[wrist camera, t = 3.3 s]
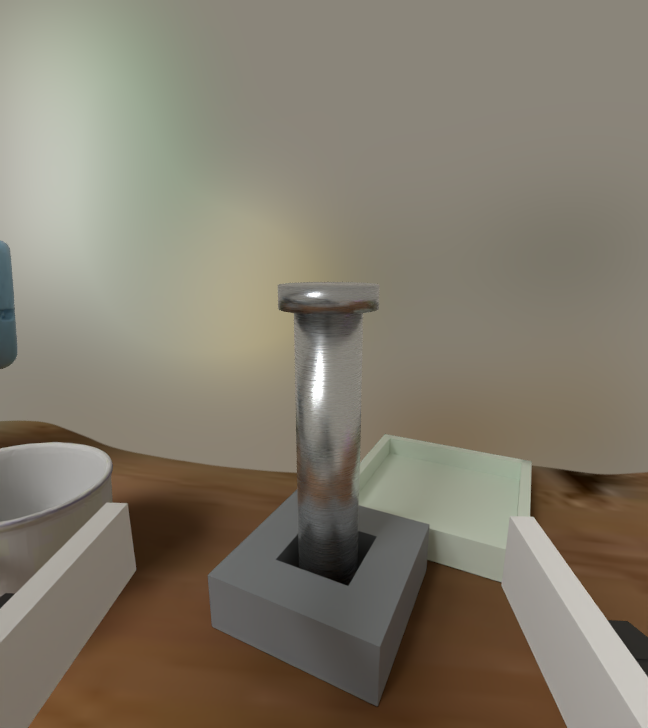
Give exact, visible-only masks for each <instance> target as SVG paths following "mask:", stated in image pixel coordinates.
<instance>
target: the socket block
mask: <svg viewBox="0 0 648 728" xmlns="http://www.w3.org/2000/svg"><path fill="white" fill-rule="evenodd" d="M429 526H430V524H426V523H423V522H419V521H415V520H411V519H408V518H404V517H400V516H397V515H393V514H389V513H386V512H382V511H378V510H375V509H371V508H367V507H363V506H360V505H359V528H358V570H357V572H356V574H355V575H354V577H353V579H352V581H351V582H350V584H349V586H347V585H344V584H341V583H338V582H336V581H333V580H330V579H327V578H325V577H322V576H319V575H317V574H314V573H311V572H308V571H306V570H303V569H300V568H299V545H298V493H297V490H296V491H295V492H294V493H293V494H292V495H291V496H290V497H289V498H288V499H287V500H286V501H284V502H283V503H282V504H281V505H280V506H279V507H278V508H277V509H276V510H275V511H274V512H273V513H272V514H271V515H270V516H269V517H268V518H267V519H266V520H265V521H264V522H263V523H262V524H260V525H259V526H258V527H257V528H256V529H255V530H254V531H253V532H252V533H251V534H250V535H249V536H248V537H247V538H246V539H245V540H244V541H243V542H242V543H241V544H240V545H239V546H238V547H236V548H235V549H234V550H233V551H232V552H231V553H230V554H229V555H228V556H227V557H226V558H225V559H224V560H223V561H222V562H221V563H220V564H219V565H218V566H217V567H216V568H215V569H214V570H212V571H211V572H210V573H209V574H208V584H209V596H210V608H211V620H212V627H214V628H216V629H218V630H220V631H222V632H224V633H226V634H228V635H230V636H232V637H234V638H237V639H239V640H241V641H243V642H245V643H247V644H249V645H251V646H253V647H255V648H257V649H259V650H261V651H263V652H265V653H268V654H270V655H272V656H274V657H276V658H278V659H280V660H282V661H284V662H286V663H288V664H290V665H292V666H294V667H296V668H298V669H301V670H303V671H305V672H307V673H309V674H311V675H313V676H315V677H317V678H319V679H321V680H323V681H325V682H327V683H329V684H332V685H334V686H336V687H338V688H340V689H342V690H344V691H346V692H348V693H350V694H352V695H354V696H356V697H358V698H360V699H362V700H365V701H367V702H369V703H371V704H373V705H375V706H377V707H378V704H379V701H380V699H381V696H382V693H383V690H384V687H385V685H386V682H387V679H388V676H389V673H390V671H391V668H392V665H393V662H394V659H395V657H396V654H397V651H398V648H399V645H400V643H401V640H402V637H403V634H404V631H405V629H406V626H407V623H408V620H409V617H410V615H411V612H412V609H413V606H414V603H415V601H416V598H417V595H418V592H419V589H420V587H421V584H422V581H423V578H424V575H425V573H426V570H427V556H428V541H429Z"/></svg>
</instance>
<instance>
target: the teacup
mask: <svg viewBox="0 0 648 728" xmlns="http://www.w3.org/2000/svg"><path fill="white" fill-rule="evenodd" d="M112 468H113V465H112V461H111V459H110V457H109V456H108V455H107V453H105V452H104V451H102V450H100V449H98V448H95V447H92V446H88V445H82V444H74V443H62V442H50V443H33V444H24V445H17V446H11V447H5V448H1V449H0V597H1V596H2V595H4V594H5V593H16V592H17V591H18V590H20V589H21V588H22V587H23V586H24V585H25V584H26V583H27V582H28V581H29V580H30V579H31V578H32V577H33V576H34V575H35V574H36V573H37V572H38V571H39V570H40V569H41V568H42V567H43V566H44V565H45V564H46V563H47V562H48V561H49V560H50V559H51V558H52V557H53V556H54V555H55V554H56V553H57V552H58V551H59V550H60V549H61V548H62V547H63V546H64V545H65V544H66V543H67V542H68V541H69V540H70V539H71V538H72V537H73V536H74V535H75V534H76V533H77V532H78V531H79V530H80V529H81V528H82V527H83V526H84V525H85V524H86V523H87V522H88V521H89V520H90V519H91V518H92V517H93V516H94V515H95V514H96V513H97V512H98V511H99V510H100V509H101V508H102V507H103V506H104V505H105V504H106V503H112V485H111V473H112Z"/></svg>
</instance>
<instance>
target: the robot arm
mask: <svg viewBox="0 0 648 728" xmlns="http://www.w3.org/2000/svg"><path fill="white" fill-rule="evenodd" d="M14 310H15V308H14V292H13V279H12V266H11V256H10V248H9V247H8V245H7V244H6V243H4V242H3V241H0V369H3V368H6V367H8V366H9V365H11V364H12V363H13V362H14V360H15V359H16V356H17V336H16V322H15V311H14ZM135 571H136V563H135V556H134V548H133V540H132V533H131V525H130V517H129V510H128V503H106V504H105V505H104V506H103V507H102V508H101V509H100V510H99V511H98V512H97V513H96V514H95V515H94V516H93V517H92V518H91V519H90V520H89V521H88V522H87V523H86V524H85V525H84V526H83V527H82V528H81V529H80V530H79V531H78V532H77V533H76V534H75V535H74V536H73V537H72V538H71V539H70V540H69V541H68V542H67V543H66V544H65V545H64V546H63V547H62V548H61V549H60V550H59V551H58V552H57V553H56V554H55V555H54V556H53V557H52V558H51V559H50V560H49V561H48V562H47V563H46V564H45V565H44V566H43V567H42V568H41V569H40V570H39V571H38V572H37V573H36V574H35V575H34V576H33V577H32V578H31V579H30V580H29V581H28V582H27V583H26V584H25V585H24V586H23V587H22V588H21V589H20V590H18V591H17V592H16V593H5V594H4V595H2V596H1V597H0V728H28V727H29V725H30V724H31V722H32V721H33V719H34V718H35V716H36V715H37V714H38V712H39V711H40V709H41V708H42V706H43V705H44V703H45V702H46V700H47V699H48V698H49V696H50V695H51V693H52V692H53V690H54V689H55V687H56V686H57V684H58V683H59V682H60V680H61V679H62V677H63V676H64V674H65V673H66V671H67V670H68V668H69V667H70V666H71V664H72V663H73V661H74V660H75V658H76V657H77V655H78V654H79V652H80V651H81V650H82V648H83V647H84V645H85V644H86V642H87V641H88V639H89V638H90V637H91V635H92V634H93V632H94V631H95V629H96V628H97V626H98V625H99V623H100V622H101V621H102V619H103V618H104V616H105V615H106V613H107V612H108V610H109V609H110V607H111V606H112V605H113V603H114V602H115V600H116V599H117V597H118V596H119V594H120V593H121V591H122V590H123V589H124V587H125V586H126V584H127V583H128V581H129V580H130V578H131V577H132V575H133V574H134V573H135ZM501 586H502V588H503V590H504V592H505V594H506V596H507V599H508V601H509V603H510V605H511V607H512V609H513V611H514V614H515V616H516V618H517V620H518V622H519V624H520V627H521V629H522V631H523V633H524V635H525V637H526V639H527V642H528V644H529V646H530V648H531V650H532V652H533V655H534V657H535V659H536V661H537V663H538V665H539V667H540V670H541V672H542V674H543V676H544V678H545V680H546V683H547V685H548V687H549V689H550V691H551V693H552V695H553V698H554V700H555V702H556V704H557V706H558V708H559V710H560V713H561V715H562V717H563V719H564V721H565V723H566V726H567V728H648V637H646V636H645V635H644V634H643V633H641V632H640V631H639V630H638V629H637V628H635V627H634V626H633V625H632V624H630V623H629V622H628V621H612V620H607V619H606V618H605V616H604V615H603V614H602V612H601V611H600V609H599V608H598V607H597V605H596V604H595V602H594V601H593V600H592V598H591V597H590V595H589V594H588V593H587V591H586V590H585V588H584V587H583V586H582V584H581V583H580V581H579V580H578V579H577V577H576V576H575V574H574V573H573V572H572V570H571V569H570V567H569V566H568V565H567V563H566V562H565V560H564V559H563V557H562V556H561V555H560V553H559V552H558V550H557V549H556V548H555V546H554V545H553V543H552V542H551V541H550V539H549V538H548V536H547V535H546V534H545V532H544V531H543V529H542V528H541V527H540V525H539V524H538V522H537V521H536V520H535V518H534V517H524V516H510V519H509V527H508V536H507V544H506V552H505V561H504V569H503V577H502V585H501Z"/></svg>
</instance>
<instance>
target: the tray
mask: <svg viewBox="0 0 648 728" xmlns="http://www.w3.org/2000/svg"><path fill="white" fill-rule="evenodd" d="M531 463H532V462H531V461H527V460H522V459H516V458H511V457H506V456H500V455H495V454H489V453H484V452H479V451H474V450H468V449H462V448H457V447H452V446H447V445H441V444H436V443H431V442H425V441H420V440H414V439H409V438H404V437H399V436H393V435H387V434H384V436H383V437H382V438H381V439H380V440H379V441H378V443H377V444H376V445H375V446H374V447H373V448H372V449H371V451H370V452H369V453H368V454H367V455H366V456H365V457H364V459H363V460H362V461H361V462H360V480H359V505H360V506H363V507H367V508H371V509H375V510H378V511H382V512H386V513H389V514H393V515H397V516H400V517H404V518H408V519H411V520H415V521H419V522H423V523H426V524H430V526H429V541H428V556H427V560H430V561H434V562H437V563H440V564H443V565H447V566H450V567H453V568H456V569H460V570H463V571H466V572H469V573H473V574H476V575H479V576H482V577H486V578H489V579H492V580H495V581H499V582H502V577H503V569H504V561H505V552H506V544H507V536H508V527H509V519H510V516H524V517H530V501H531V465H532V464H531Z"/></svg>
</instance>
